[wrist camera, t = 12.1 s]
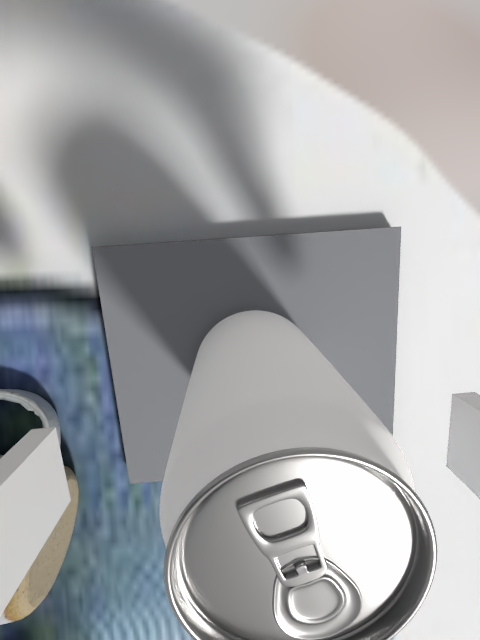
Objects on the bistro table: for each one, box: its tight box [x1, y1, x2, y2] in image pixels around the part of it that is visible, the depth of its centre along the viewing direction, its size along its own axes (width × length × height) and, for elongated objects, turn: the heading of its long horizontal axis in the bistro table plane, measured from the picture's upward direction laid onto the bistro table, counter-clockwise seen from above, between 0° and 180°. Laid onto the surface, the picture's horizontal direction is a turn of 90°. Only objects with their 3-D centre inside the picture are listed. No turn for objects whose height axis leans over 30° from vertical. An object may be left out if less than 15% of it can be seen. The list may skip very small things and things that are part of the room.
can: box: [160, 310, 437, 640], centre depth 12 cm, size 6×6×12 cm
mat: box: [92, 227, 401, 483], centre depth 19 cm, size 16×14×1 cm
